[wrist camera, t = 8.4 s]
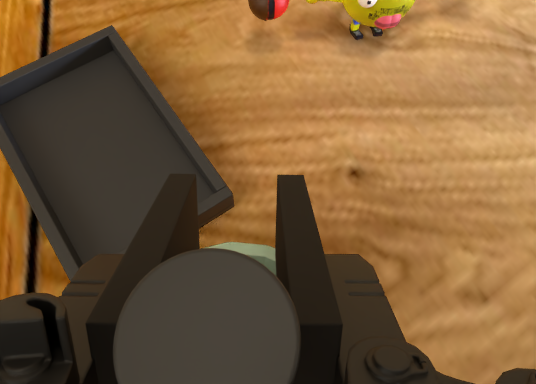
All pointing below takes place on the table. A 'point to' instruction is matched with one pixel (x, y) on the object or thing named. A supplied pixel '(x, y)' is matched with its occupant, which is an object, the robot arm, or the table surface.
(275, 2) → the toy figure
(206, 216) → the pen tray
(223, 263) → the marker
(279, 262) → the robot arm
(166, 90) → the table surface
